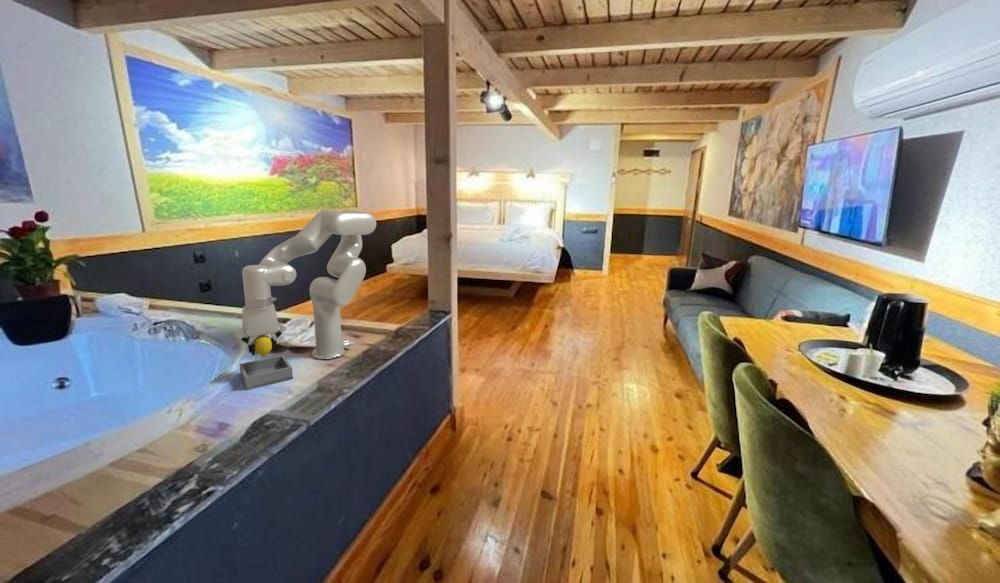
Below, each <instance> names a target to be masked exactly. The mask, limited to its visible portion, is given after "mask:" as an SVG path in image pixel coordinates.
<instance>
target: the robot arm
mask: <svg viewBox="0 0 1000 583" xmlns="http://www.w3.org/2000/svg"><path fill="white" fill-rule="evenodd" d="M376 227H377V220H376V217H375V216H374V215H373V214H372V213H369V212H365V211H359V210H354V209H352V210H351V209H345V210H343V211H340V210H339V211H338V210H332V209H321V210H320V211H319V212H317V213H316V214H315V215H314V216H313V217H312V218H311V219H310V221H308V222H307V224H306V225H305V226H303V228H302V229H301V230H300V231H299V232H298V233H297V234H296V235H294V236H292V237H291V238H289V239H287V240H285V241H283V242H281V243H280V244H278V245H277V246H276V245H275V247H273V248H272V249H271V250H270V251H269V252H268V253H267V254H266V255H265V256H264V257H263V258H262V259H261V260H260V262H259V263H258V264H250V265H246V266H244V267H243V268H242V269H241V275H242V283H243V284H242V285H243V293H244V301H245V305H243V307H242V310H241V311H242V314H241V318H242V319H241V322H242V325H241V328H240V329H238V331H237V332H236V333H235V334H234V336H235V338H236V339H237V340H240V341H242V342H244V343H246V344H247V346H248V353H249V354H251V356H254V357H255V355H256V352H255V349H254V340H255V337H258V336H260V335H266V336H267V335H270V336H271V337H270V339H271V341H272V349H271V351H272V352H276V349H277V348H278V345H277V341H278V339H279V338H280V336H281V335H282V334H283V333H284V332H285V331H286V330H287V327H286V326H285V325H283V324H282V323H281V322H280V321H278V315H277V312H276V311H277V310H276V307H275V304H274V303H273V302H276V301H277V297H276V296H272V292H271V290H272V289H271V287H274V286H276V287H277V286H278V287H279V286H280V287H282V286H288V285H290V284H292V283H293V282H294V281H295V280H296V278H297V271H296V269H295V268H294V267H293V266H292V265H290V264H288V263H290V262H291V261H292V260H294V259H296V258H299V257H302V256H306V255H310V254H313V253H316V252H317V251H318V250H319V249H320V248H321V247H322V246H323V245H324V243H326V241H327V240H328V239H329V238H330V237H331V236H332V235H338V236H341V237H340V242H339V243H338V245H337V247H336V249H335V250H334V252H333V253H332V254H331V257H330V259H329V260H328V262H327V264H326V271H327V273H328V274H329V275H330V276H332V277H335V278H338V279H334V278H331V277H329V276H328V277H327V276H320V277H319V276H318V277H316V278H314V279H313V280H312V282H310V285H309V297H310V300H311V303H312V309H313V310H312V311H313V322H314V323H313V324H314V333H315V334H314V335H315V336H314V338H315V348H314V349H313V350H312V353H311V354H312V355H313V356H312V358H314V357H315V358H314V359H316V358H318V359H317V360H320V359H326V358H333V357H336V356H340V355H341V354H340V353H342V351H344V348H348V347H353V346H354V345H355V343H354V341H353V340H350V341H349V340H348V339H347V340H342V326H341V325H342V324H341V309H340V308H341V307H346V306H347V305H348V304H349V303H350V302H352V300H353V299H354V296H355V295H356V293H357V291H358V289H359V287H360V286H361V284H362V283H363V280H364V278H365V277H366V272H367V267H366V264H365V262H364V260H363V259H361V258H359V255H360V253H361V252H362V250H363V249H362V248H363V239H362V236H366V235H370V234H372V233H373V232H374V231H375V230H376V229H377V228H376ZM243 334H244V335H245V336H243ZM342 354H343V353H342Z"/></svg>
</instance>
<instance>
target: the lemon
mask: <svg viewBox="0 0 1000 583" xmlns="http://www.w3.org/2000/svg"><path fill="white" fill-rule="evenodd" d="M253 344H254V349H255V354H257V355H259V356H262V357H265V356H266V355H268V354H269V353H270V352H271V351H272V341H271V337H269V336H268V335H267V334H266V335H260V336H256V338H254V339H253Z"/></svg>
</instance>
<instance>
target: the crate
mask: <svg viewBox="0 0 1000 583" xmlns="http://www.w3.org/2000/svg"><path fill="white" fill-rule="evenodd" d="M238 366H239V372H240V373H241V374H240V377H241V376H242V377H241V379H243V380H242V382H243V384H244V386H245V389H246V391H249V390H250V391H251V390H253V389H254V390H255V389H257V388H261V387H266V386H269V385H273V384H278V383H281V382H286V381H290V380H293V379H294V375H293V367H292V366H291V364H290V362H289V361H288V359H287V358H286V357H285V355H284V354H281V355H276V356H272V357H267V358H263V359H257V360H252V361H248V362H242V363H239V365H238Z"/></svg>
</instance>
